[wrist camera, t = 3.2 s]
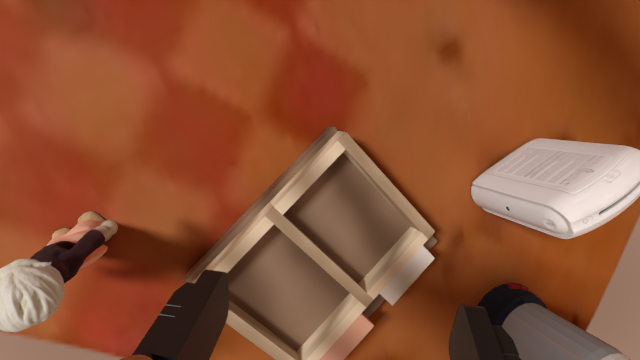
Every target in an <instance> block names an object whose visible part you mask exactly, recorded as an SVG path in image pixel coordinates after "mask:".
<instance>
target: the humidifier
mask: <svg viewBox="0 0 640 360" xmlns="http://www.w3.org/2000/svg"><path fill="white" fill-rule="evenodd" d="M478 306H480V307H485V309H486V310H487V313H488V316H489V319H490V321H491V324H492V325H499V326H502V327H503V329H504V330H505V331H506V332H507V333H508V334H509V336H510V337H511V338H512V339H513V341H514V343H515V346H516V348H517V351H518V353H519V358H521V360H630V359H629V358H628V357H627V356H626V355H623V354H622V353H621V352H620V351H619V350H618V349H616V348H614V347H612V346H611V345H609V344H607V343H605V342H604V341H602V340H600V339H598V338H596V337H595V336H593V335H591V334H590V333H588V332H586V331H584V330H582V329H581V328H579V327H577V326H575V325H574V324H572V323H570V322H568V321H567V320H565V319H563V318H561V317H560V316H558V315H556V314H554V313H553V312H551V311H549V310H547V308H546V305H545V304H544V303H543V302H542V301H541V300H540V299H539V298H537V297H536V296H535V295H534V294H532V293H530V292H528V288H527V287H525V286H522V285H519V284H518V285H517V284H504V285H501V286H498V287H496V288H494V289H492V290H491V291H490V292H489V293H487V294H486V295H485V296H484V298H483V299H482V300H481V302H480V303H479V305H478Z"/></svg>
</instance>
